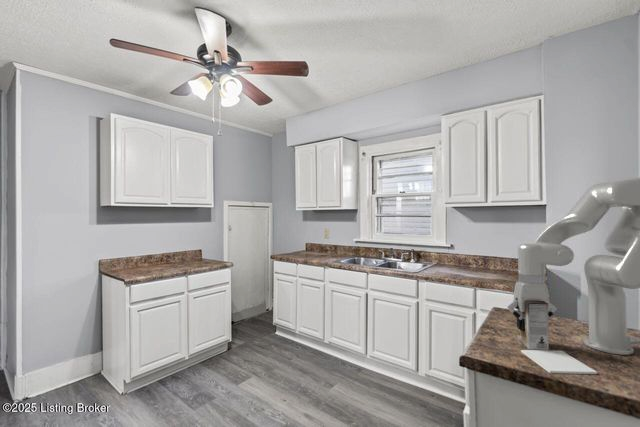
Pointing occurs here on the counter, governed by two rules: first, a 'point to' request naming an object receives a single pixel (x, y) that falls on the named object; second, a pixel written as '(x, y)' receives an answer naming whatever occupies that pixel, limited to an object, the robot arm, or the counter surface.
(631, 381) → the counter surface
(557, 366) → the mat
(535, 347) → the coffee box
